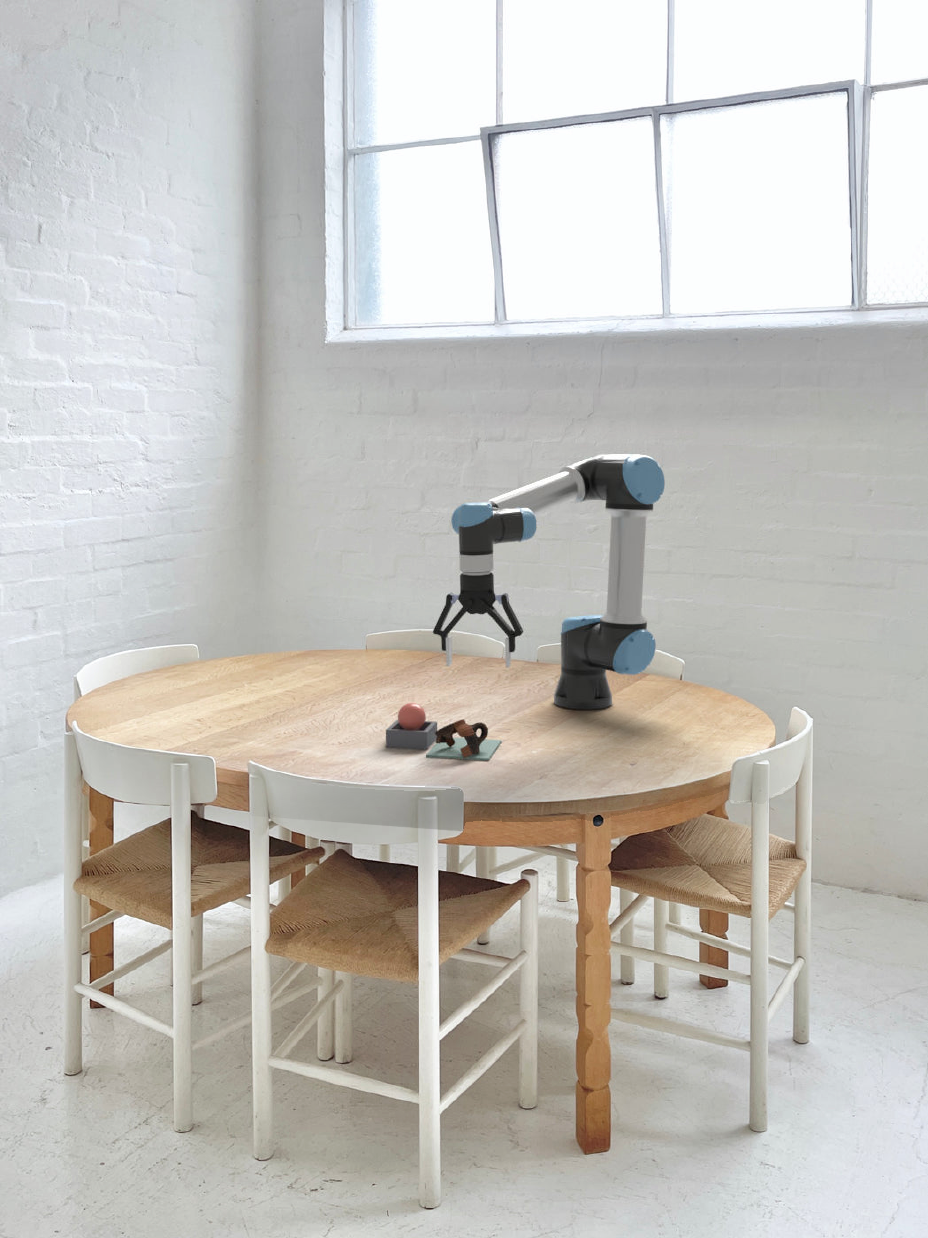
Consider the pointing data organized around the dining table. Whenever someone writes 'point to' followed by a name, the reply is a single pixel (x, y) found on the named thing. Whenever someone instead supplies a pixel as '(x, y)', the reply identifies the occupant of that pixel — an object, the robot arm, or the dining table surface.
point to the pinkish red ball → (411, 716)
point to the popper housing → (411, 736)
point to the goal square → (454, 751)
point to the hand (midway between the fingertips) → (478, 665)
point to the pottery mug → (464, 731)
